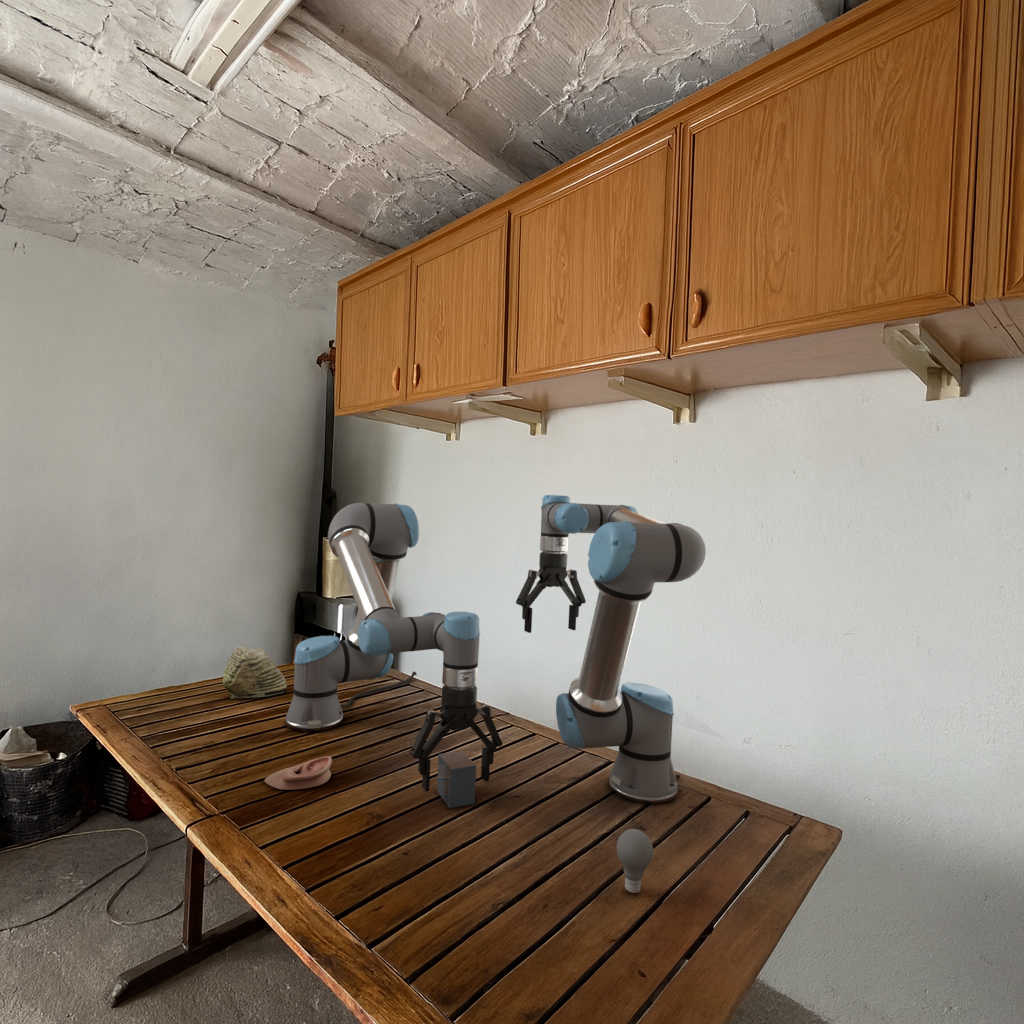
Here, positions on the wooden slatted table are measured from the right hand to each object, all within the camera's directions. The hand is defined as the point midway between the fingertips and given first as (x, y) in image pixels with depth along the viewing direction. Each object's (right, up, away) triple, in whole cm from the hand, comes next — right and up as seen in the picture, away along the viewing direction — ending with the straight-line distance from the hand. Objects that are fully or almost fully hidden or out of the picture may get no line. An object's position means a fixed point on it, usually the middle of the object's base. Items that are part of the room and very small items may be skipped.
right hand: (550, 630), depth 171 cm
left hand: (-22, -26, -35) cm, 49 cm away
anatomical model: (-58, -28, -30) cm, 71 cm away
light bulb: (+10, -31, -66) cm, 73 cm away
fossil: (-91, -25, +27) cm, 98 cm away
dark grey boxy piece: (-23, -29, -35) cm, 51 cm away
